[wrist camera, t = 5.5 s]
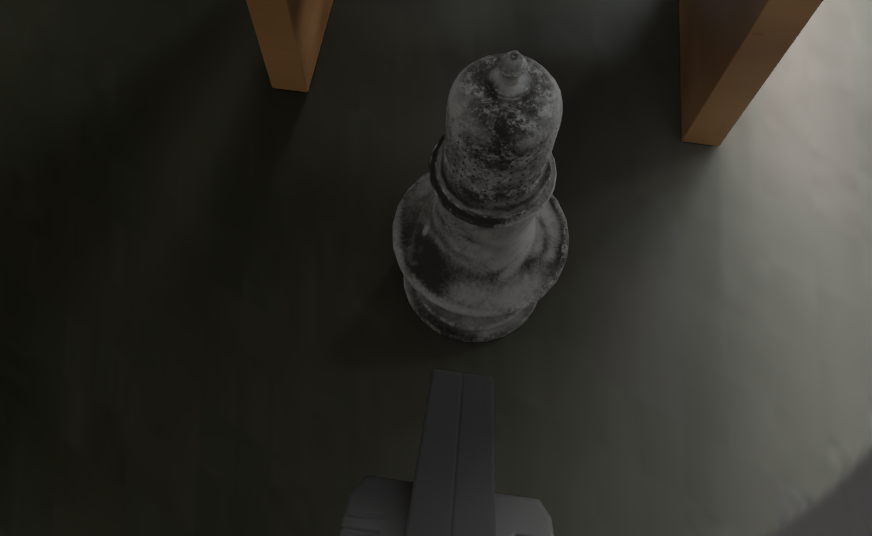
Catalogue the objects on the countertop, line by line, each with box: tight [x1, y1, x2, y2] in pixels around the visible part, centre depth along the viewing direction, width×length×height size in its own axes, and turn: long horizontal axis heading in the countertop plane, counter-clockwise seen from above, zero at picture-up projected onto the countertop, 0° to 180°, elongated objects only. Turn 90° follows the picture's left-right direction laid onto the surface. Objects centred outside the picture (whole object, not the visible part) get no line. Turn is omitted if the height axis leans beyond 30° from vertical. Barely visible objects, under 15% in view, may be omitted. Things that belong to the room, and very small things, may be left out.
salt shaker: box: [392, 50, 569, 342], centre depth 20 cm, size 6×6×12 cm
